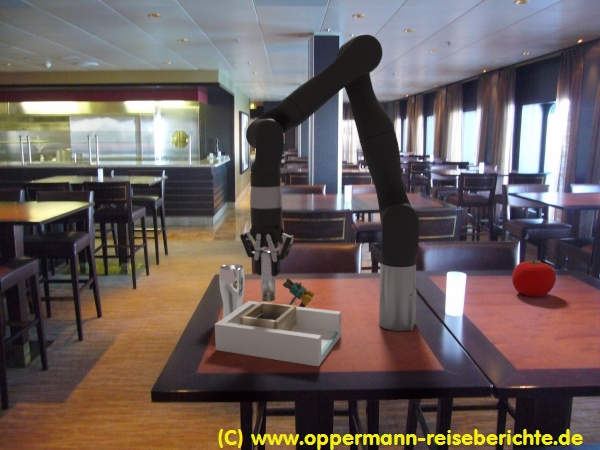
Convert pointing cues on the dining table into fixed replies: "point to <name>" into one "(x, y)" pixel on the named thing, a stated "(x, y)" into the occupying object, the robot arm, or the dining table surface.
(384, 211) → the robot arm
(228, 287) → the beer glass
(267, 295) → the handle peg
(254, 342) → the bay
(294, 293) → the binoculars
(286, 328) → the box
